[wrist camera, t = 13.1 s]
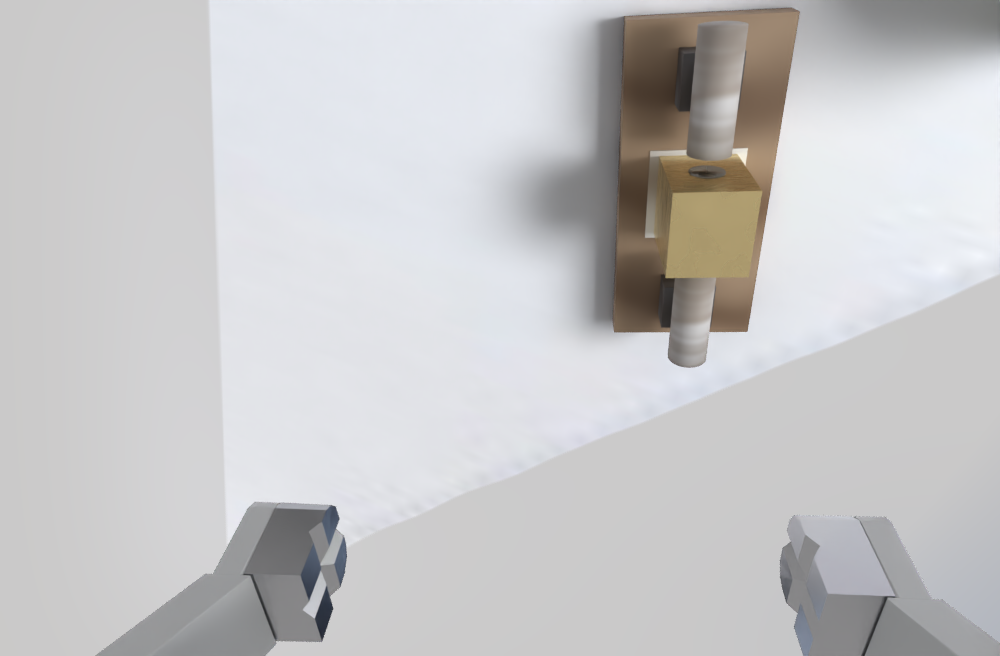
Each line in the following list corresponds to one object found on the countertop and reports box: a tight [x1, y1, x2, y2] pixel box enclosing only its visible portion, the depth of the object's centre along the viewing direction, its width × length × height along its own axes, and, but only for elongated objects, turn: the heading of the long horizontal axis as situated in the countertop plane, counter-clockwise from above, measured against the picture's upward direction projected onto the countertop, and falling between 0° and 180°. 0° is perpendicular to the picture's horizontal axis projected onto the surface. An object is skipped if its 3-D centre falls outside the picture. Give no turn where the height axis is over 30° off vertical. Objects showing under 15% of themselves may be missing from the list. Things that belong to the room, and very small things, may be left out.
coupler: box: [654, 154, 762, 278], centre depth 39 cm, size 5×4×6 cm
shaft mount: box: [613, 8, 800, 368], centre depth 40 cm, size 20×9×6 cm, turn 3°
